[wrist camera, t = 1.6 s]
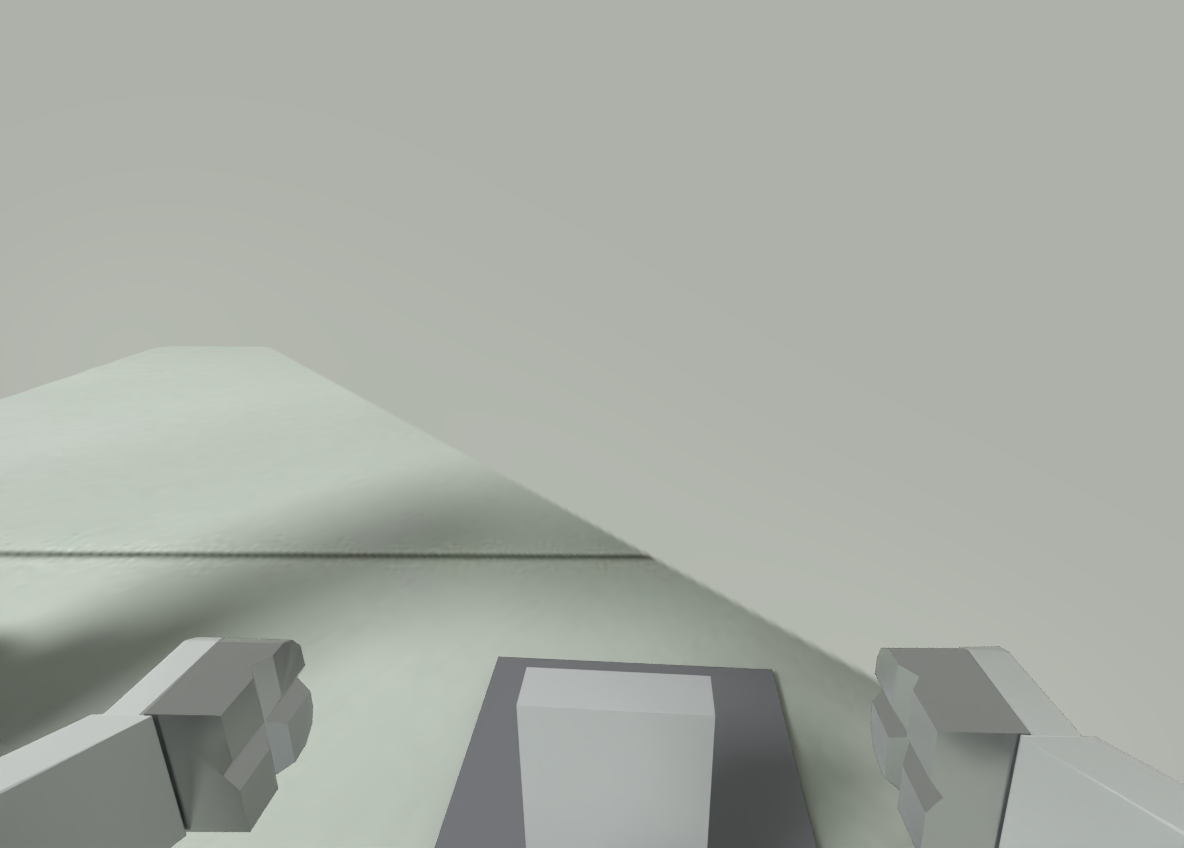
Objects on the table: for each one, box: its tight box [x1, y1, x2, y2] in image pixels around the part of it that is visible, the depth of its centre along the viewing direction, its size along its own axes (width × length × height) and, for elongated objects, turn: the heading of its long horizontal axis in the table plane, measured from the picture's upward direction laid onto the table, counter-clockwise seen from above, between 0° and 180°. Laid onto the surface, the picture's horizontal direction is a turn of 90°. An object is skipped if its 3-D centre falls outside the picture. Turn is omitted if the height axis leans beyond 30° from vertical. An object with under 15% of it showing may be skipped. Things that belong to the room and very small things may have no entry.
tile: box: [516, 667, 715, 848], centre depth 26 cm, size 2×7×12 cm, turn 85°
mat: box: [435, 657, 817, 848], centre depth 32 cm, size 22×18×1 cm
